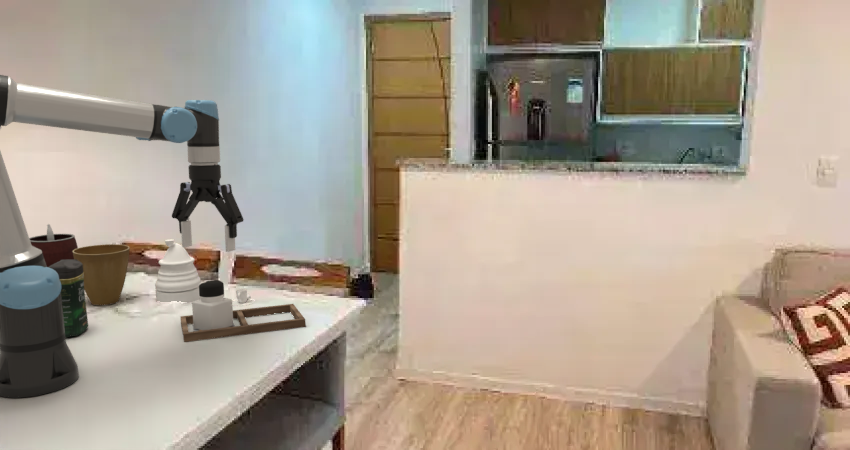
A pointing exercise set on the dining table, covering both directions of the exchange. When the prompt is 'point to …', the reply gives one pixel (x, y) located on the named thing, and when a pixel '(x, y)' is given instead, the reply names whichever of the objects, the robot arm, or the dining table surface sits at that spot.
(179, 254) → the honey pot
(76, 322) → the coffee jar
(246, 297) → the teacup and saucer
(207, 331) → the walnut rack
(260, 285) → the dining table surface
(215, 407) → the dining table surface
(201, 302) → the medicine bottle
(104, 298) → the plant pot
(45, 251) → the mate gourd
